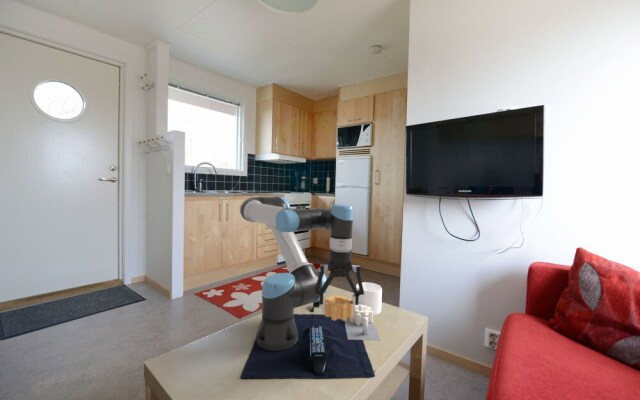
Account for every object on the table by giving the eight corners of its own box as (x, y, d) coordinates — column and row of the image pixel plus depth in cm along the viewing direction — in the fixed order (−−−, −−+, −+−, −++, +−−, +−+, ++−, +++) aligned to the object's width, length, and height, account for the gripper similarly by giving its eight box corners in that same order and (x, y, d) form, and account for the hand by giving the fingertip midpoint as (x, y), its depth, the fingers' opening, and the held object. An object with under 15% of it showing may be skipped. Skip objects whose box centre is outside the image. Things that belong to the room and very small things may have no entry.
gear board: (347, 343, 98) (348, 323, 98) (343, 318, 117) (343, 301, 117) (380, 344, 98) (381, 324, 98) (370, 319, 117) (371, 302, 117)
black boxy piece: (316, 302, 134) (316, 293, 134) (329, 305, 131) (329, 296, 131) (305, 313, 122) (305, 303, 122) (319, 316, 120) (320, 306, 119)
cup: (379, 307, 129) (380, 283, 129) (382, 319, 118) (383, 292, 117) (354, 305, 130) (355, 281, 130) (355, 317, 119) (356, 290, 118)
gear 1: (324, 320, 89) (325, 305, 88) (324, 307, 98) (324, 294, 98) (353, 321, 89) (354, 306, 88) (350, 308, 98) (351, 294, 98)
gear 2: (350, 325, 108) (351, 313, 108) (348, 314, 118) (348, 303, 118) (374, 326, 108) (375, 313, 108) (370, 314, 118) (370, 303, 118)
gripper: (307, 251, 89) (305, 317, 90) (375, 253, 89) (372, 319, 90) (308, 246, 96) (307, 307, 97) (370, 248, 96) (368, 309, 97)
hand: (338, 313), depth 94 cm, fingers closed on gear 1, 10 cm apart
